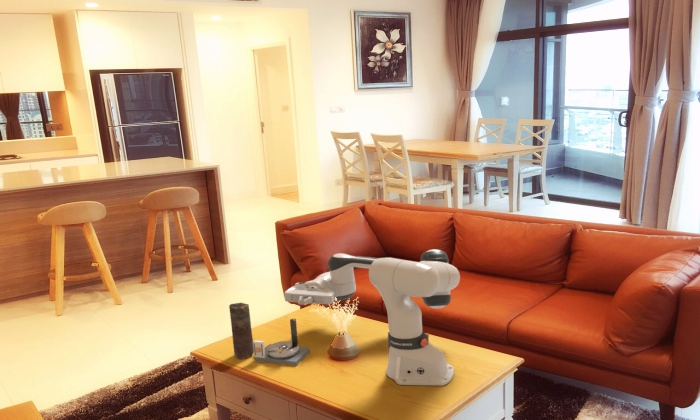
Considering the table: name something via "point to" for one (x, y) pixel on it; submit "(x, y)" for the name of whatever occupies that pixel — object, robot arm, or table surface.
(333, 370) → the table surface
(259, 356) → the stand
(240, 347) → the candle
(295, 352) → the grey disc with rod
